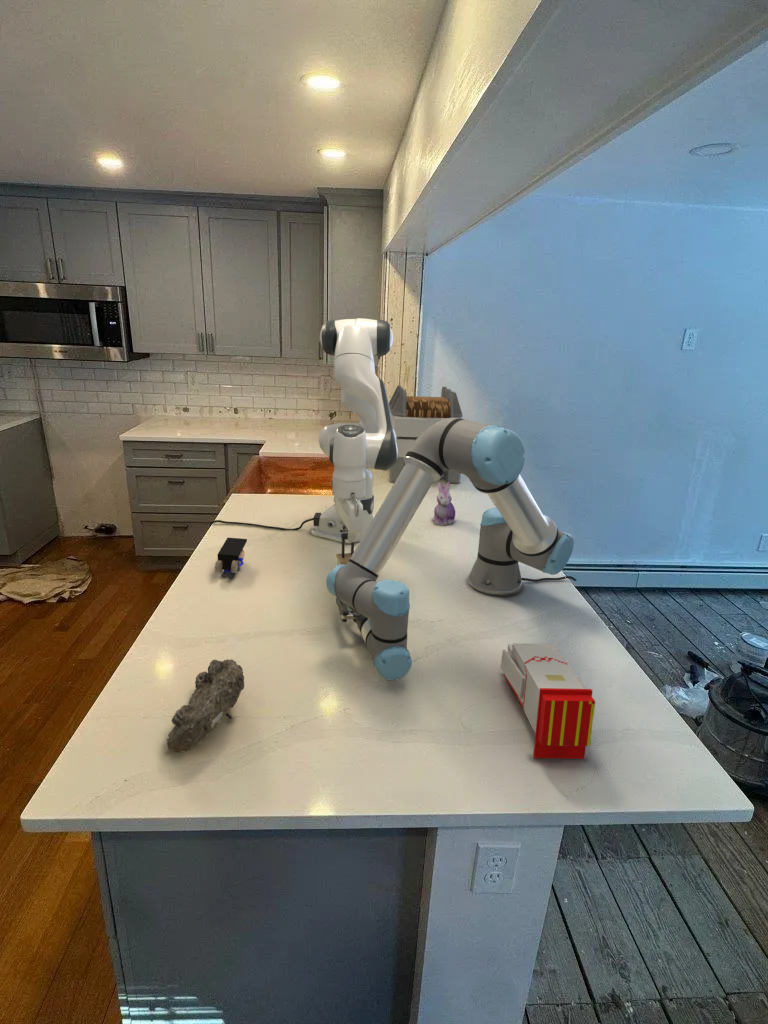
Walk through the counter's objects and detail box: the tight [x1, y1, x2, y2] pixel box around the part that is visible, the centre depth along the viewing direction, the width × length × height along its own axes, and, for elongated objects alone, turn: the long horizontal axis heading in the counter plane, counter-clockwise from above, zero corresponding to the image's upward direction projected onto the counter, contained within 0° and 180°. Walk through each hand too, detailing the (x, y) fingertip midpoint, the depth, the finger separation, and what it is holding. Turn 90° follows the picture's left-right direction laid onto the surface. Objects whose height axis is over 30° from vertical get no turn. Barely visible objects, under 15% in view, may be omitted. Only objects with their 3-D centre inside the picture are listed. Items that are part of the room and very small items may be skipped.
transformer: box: [388, 384, 463, 484], centre depth 268 cm, size 34×33×41 cm
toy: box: [499, 642, 596, 760], centre depth 113 cm, size 12×13×30 cm
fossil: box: [166, 658, 245, 754], centre depth 106 cm, size 22×10×15 cm
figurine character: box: [214, 537, 248, 578], centre depth 166 cm, size 7×8×15 cm
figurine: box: [433, 482, 456, 526], centre depth 211 cm, size 9×10×15 cm
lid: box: [335, 533, 355, 565], centre depth 151 cm, size 15×5×8 cm, turn 16°
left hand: (348, 536), depth 154 cm, fingers open, 6 cm apart
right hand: (354, 582), depth 150 cm, fingers closed on chest, 5 cm apart
